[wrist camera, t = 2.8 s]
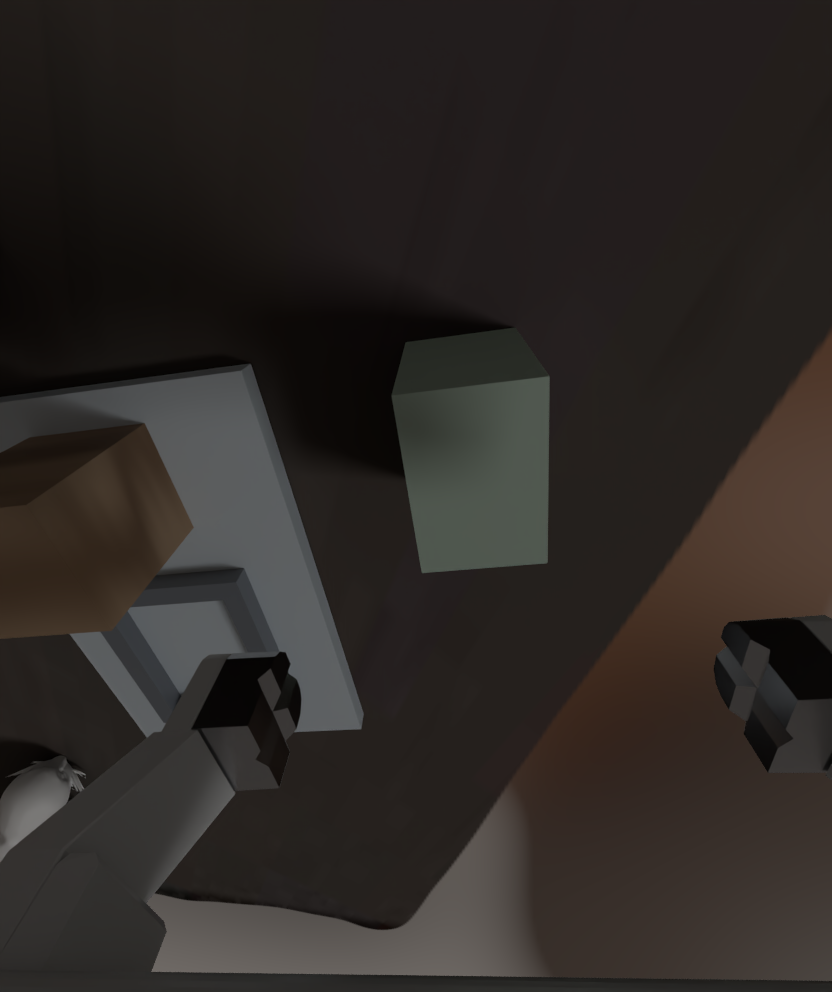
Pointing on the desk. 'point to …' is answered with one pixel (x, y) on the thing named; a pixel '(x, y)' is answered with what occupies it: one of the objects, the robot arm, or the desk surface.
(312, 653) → the board
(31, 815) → the white animal figurine
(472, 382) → the sage block
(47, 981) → the robot arm
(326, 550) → the desk surface
